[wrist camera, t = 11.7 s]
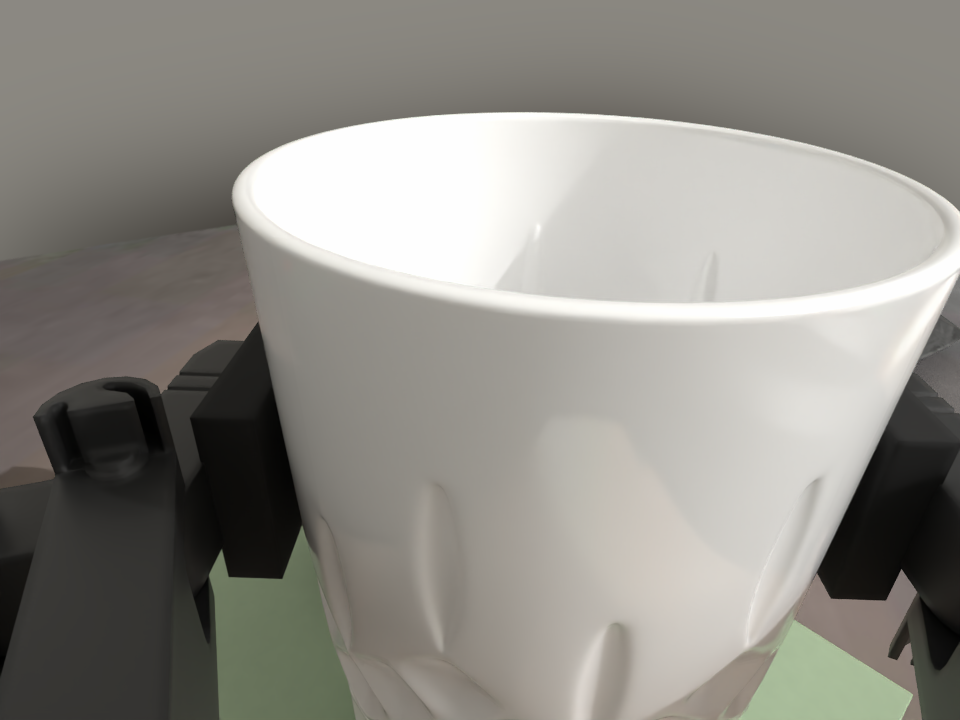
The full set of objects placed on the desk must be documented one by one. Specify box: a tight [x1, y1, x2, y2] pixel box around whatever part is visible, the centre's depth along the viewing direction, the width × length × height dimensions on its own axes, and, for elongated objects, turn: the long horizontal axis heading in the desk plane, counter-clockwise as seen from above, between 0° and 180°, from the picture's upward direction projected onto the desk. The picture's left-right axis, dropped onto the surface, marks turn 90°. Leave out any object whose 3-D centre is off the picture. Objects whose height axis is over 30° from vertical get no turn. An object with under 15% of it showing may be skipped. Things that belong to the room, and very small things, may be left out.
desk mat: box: [209, 526, 913, 720], centre depth 17 cm, size 20×11×1 cm, turn 44°
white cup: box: [232, 112, 960, 720], centre depth 10 cm, size 8×8×10 cm
